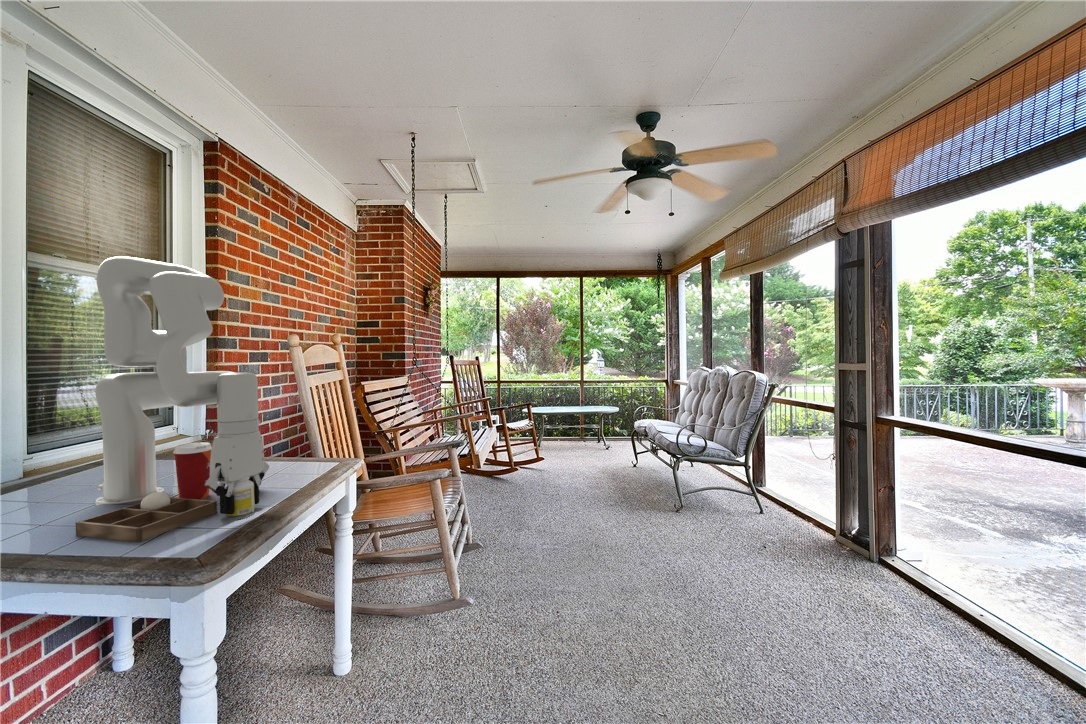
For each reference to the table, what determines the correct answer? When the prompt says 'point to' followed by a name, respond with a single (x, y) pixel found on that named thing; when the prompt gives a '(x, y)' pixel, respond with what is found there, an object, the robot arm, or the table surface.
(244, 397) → the robot arm
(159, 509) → the wooden compartment tray
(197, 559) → the table surface
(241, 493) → the supplement bottle
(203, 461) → the paper cup
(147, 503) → the white ball
